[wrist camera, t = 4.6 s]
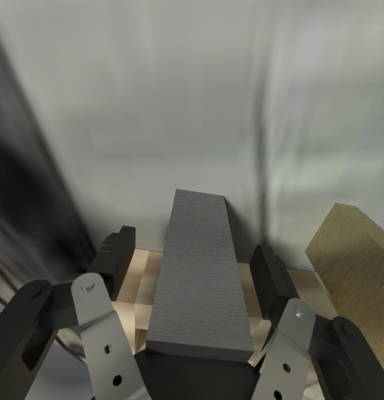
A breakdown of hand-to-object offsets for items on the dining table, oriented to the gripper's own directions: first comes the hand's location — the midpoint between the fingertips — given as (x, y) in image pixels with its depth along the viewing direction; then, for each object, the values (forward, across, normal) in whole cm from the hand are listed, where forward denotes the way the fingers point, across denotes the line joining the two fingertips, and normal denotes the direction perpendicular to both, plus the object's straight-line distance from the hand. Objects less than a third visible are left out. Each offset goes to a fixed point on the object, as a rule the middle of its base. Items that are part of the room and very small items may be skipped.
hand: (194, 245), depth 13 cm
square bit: (+3, 0, 0) cm, 3 cm away
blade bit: (+3, -11, 0) cm, 12 cm away
